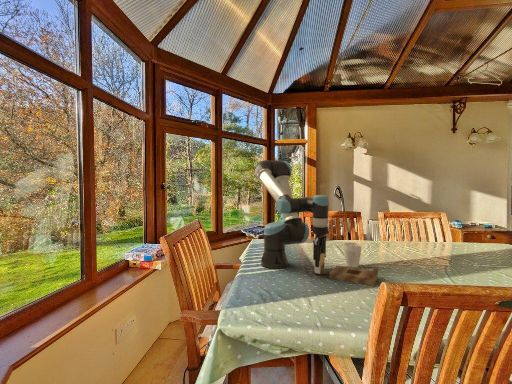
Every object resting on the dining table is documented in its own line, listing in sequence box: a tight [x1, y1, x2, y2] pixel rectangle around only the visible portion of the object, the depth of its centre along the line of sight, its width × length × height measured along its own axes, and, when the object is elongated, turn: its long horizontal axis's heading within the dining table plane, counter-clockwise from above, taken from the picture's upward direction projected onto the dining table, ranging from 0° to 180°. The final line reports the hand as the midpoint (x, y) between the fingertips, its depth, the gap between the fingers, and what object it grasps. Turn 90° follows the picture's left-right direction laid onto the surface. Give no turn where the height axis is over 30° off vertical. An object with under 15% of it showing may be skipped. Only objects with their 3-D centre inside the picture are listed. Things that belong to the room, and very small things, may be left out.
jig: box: [329, 265, 379, 287], centre depth 140 cm, size 20×12×5 cm, turn 59°
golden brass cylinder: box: [313, 252, 326, 275], centre depth 146 cm, size 5×5×10 cm
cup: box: [343, 242, 362, 268], centre depth 159 cm, size 9×9×12 cm
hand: (319, 271), depth 146 cm, fingers closed on golden brass cylinder, 5 cm apart
